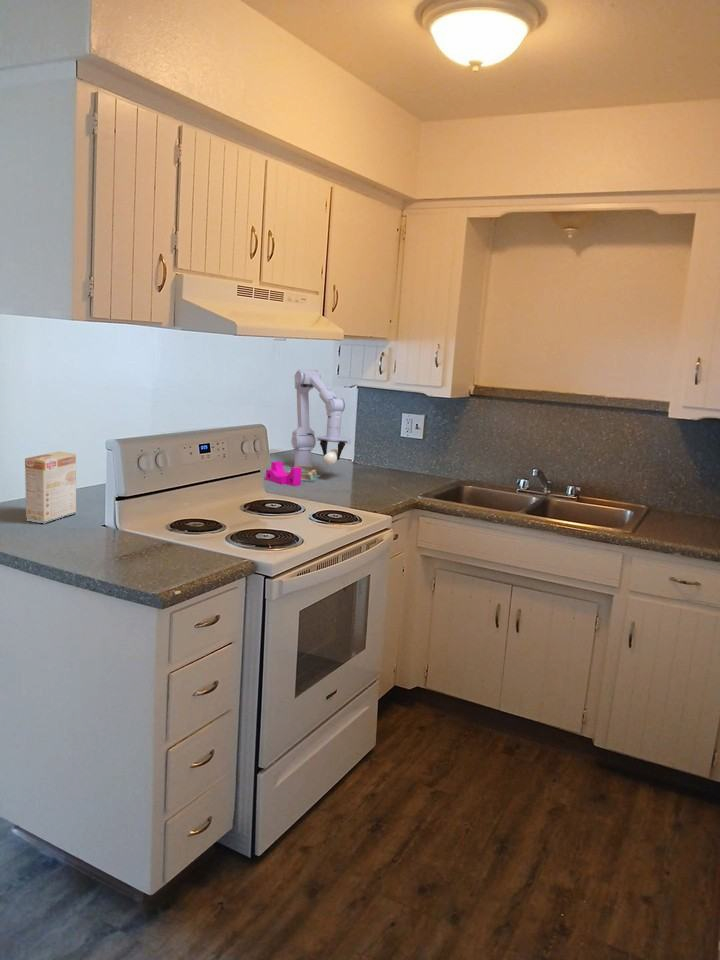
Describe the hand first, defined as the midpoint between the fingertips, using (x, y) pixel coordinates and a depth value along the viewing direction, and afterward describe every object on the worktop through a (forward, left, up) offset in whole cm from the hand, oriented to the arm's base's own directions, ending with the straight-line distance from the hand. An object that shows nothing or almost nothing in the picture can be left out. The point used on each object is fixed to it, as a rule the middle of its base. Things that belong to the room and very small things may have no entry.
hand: (331, 459), depth 325 cm
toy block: (+16, -16, -9) cm, 25 cm away
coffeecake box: (+102, -67, -9) cm, 123 cm away
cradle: (0, -12, -9) cm, 15 cm away
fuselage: (0, 0, -2) cm, 2 cm away
